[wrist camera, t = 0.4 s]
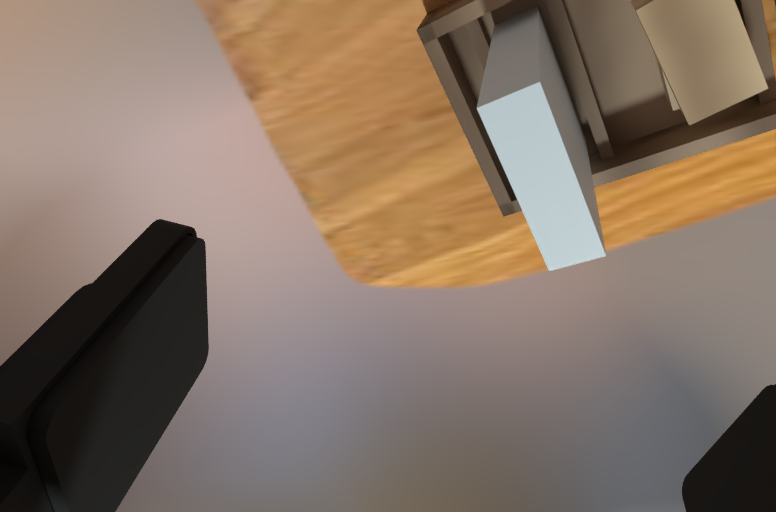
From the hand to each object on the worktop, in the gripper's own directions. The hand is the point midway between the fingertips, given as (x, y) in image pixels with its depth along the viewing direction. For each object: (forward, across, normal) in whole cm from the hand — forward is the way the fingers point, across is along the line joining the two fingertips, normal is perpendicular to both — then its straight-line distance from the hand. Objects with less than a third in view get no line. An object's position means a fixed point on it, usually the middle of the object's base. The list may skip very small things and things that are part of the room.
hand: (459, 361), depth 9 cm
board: (+25, -3, +3) cm, 26 cm away
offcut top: (+23, -9, -2) cm, 25 cm away
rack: (+26, -6, +1) cm, 27 cm away
